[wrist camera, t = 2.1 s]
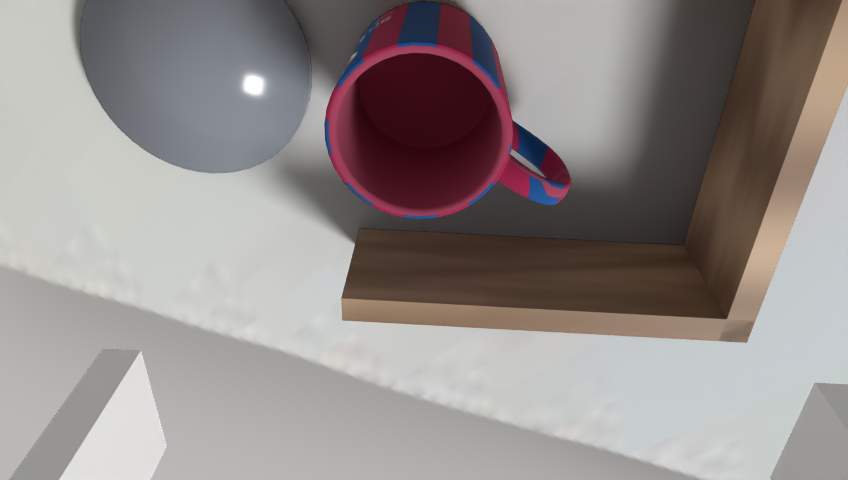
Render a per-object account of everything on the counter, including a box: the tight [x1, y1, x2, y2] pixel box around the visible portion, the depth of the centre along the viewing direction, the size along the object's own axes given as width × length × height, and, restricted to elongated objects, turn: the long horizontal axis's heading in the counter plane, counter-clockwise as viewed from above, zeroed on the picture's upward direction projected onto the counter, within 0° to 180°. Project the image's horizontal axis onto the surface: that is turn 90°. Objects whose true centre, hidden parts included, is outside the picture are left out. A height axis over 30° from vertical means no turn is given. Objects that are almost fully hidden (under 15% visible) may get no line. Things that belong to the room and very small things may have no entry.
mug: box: [325, 1, 571, 219], centre depth 26 cm, size 7×10×7 cm
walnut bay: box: [341, 0, 848, 343], centre depth 26 cm, size 16×18×6 cm
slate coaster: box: [80, 0, 312, 173], centre depth 28 cm, size 10×10×1 cm
